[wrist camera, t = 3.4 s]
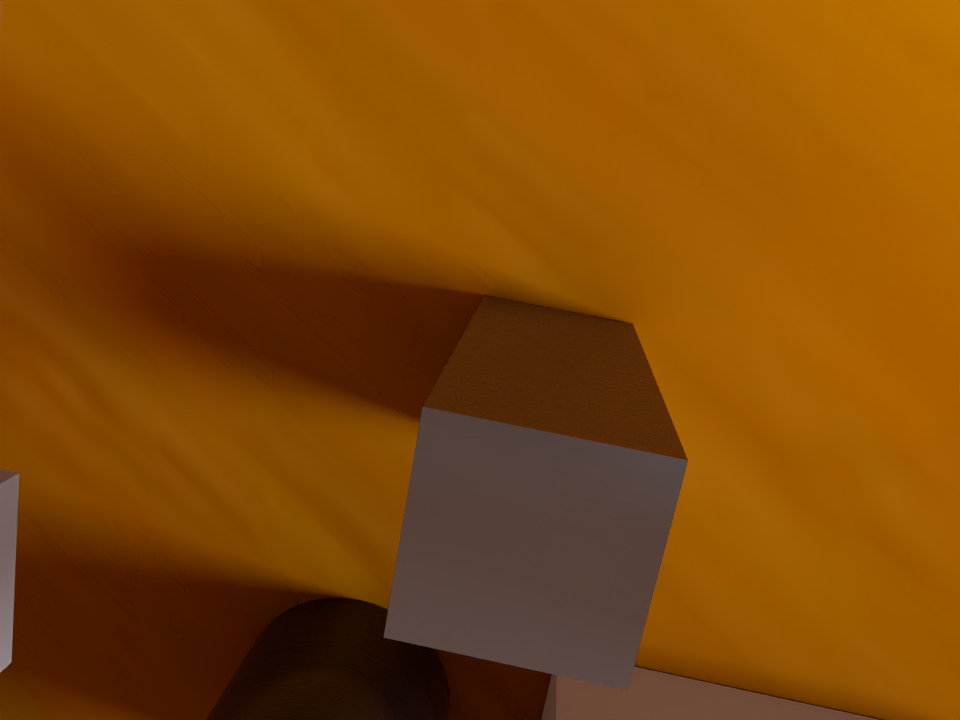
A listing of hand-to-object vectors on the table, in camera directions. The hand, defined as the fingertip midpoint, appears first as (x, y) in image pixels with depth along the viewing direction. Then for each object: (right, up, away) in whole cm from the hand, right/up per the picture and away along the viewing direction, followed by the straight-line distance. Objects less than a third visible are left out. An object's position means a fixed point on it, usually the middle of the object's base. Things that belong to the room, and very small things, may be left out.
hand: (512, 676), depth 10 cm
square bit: (+1, +3, +12) cm, 13 cm away
